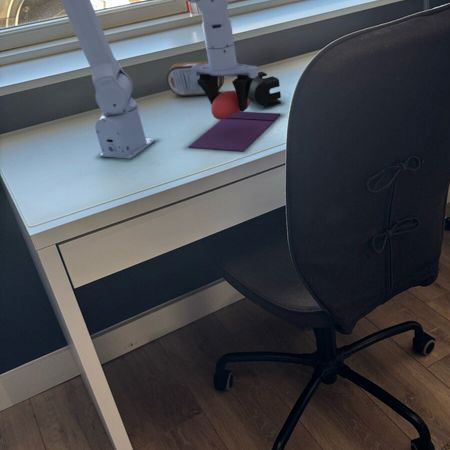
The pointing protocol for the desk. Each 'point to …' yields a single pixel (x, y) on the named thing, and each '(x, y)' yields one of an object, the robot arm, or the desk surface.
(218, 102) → the red oval piece
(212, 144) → the cloth
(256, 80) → the end cap
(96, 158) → the desk surface
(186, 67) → the tin
